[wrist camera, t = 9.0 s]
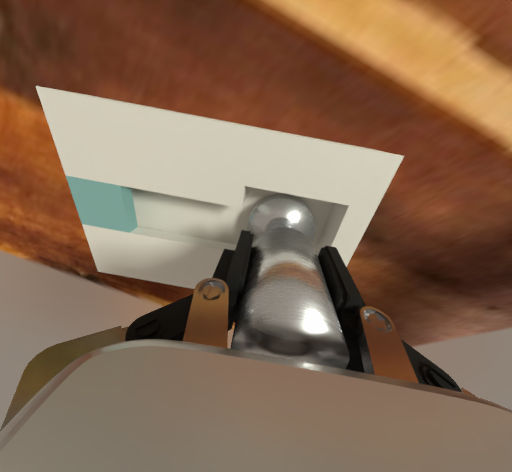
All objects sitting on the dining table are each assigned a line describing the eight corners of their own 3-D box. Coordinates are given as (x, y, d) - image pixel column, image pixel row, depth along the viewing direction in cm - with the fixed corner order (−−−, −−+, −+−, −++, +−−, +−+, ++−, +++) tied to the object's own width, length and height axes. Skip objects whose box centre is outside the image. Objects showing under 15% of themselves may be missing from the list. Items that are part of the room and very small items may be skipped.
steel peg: (322, 200, 14) (403, 326, 5) (302, 255, 17) (334, 403, 8) (253, 187, 14) (217, 292, 5) (244, 245, 17) (210, 380, 8)
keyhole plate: (373, 149, 13) (404, 156, 10) (315, 283, 20) (322, 312, 17) (91, 95, 13) (35, 85, 10) (125, 248, 20) (97, 271, 17)
